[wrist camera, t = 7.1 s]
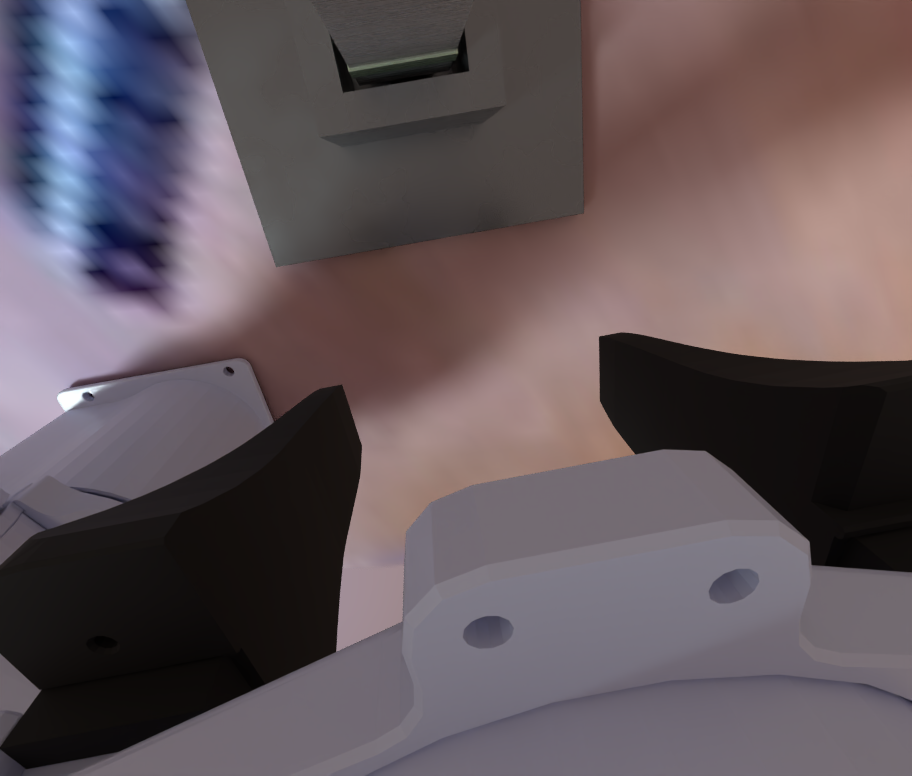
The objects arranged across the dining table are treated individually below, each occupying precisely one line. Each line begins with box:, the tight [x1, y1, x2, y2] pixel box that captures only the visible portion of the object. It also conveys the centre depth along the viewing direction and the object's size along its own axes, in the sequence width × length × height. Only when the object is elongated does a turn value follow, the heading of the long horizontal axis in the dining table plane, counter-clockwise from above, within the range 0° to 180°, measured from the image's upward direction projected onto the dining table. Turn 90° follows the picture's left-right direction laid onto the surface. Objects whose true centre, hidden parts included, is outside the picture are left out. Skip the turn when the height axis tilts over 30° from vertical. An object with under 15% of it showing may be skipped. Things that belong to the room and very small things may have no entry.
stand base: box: [186, 0, 584, 267], centre depth 14 cm, size 14×14×6 cm
